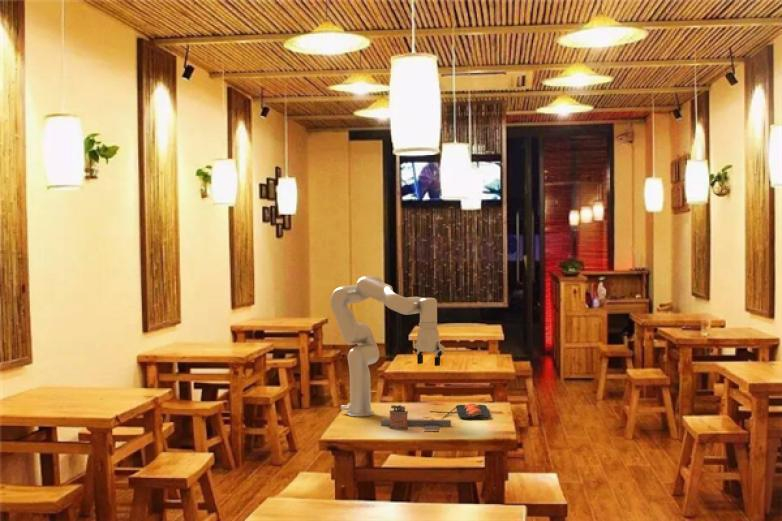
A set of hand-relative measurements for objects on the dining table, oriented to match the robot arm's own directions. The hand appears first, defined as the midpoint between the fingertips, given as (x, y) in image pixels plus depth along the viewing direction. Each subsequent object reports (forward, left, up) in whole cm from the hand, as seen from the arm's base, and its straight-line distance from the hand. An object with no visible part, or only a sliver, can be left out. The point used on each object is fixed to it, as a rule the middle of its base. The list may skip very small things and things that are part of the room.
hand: (428, 364), depth 378 cm
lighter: (-12, -14, -26) cm, 32 cm away
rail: (-5, -8, -25) cm, 27 cm away
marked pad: (+2, -14, -25) cm, 29 cm away
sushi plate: (+12, +19, -26) cm, 34 cm away
